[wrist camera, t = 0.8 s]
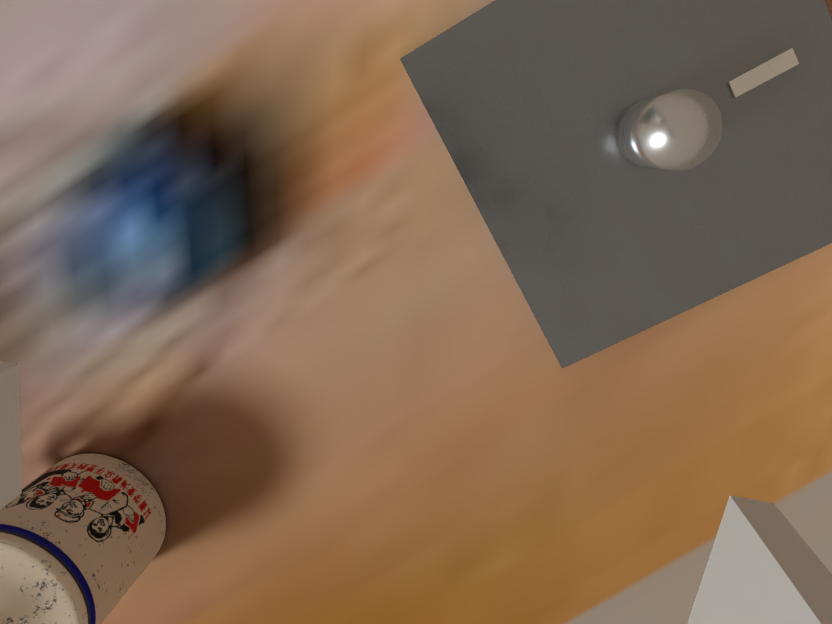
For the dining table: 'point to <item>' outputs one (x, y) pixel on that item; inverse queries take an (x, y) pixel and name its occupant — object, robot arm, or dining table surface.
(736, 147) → the panel
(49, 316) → the dining table surface
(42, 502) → the teacup with lid
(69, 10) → the dining table surface
